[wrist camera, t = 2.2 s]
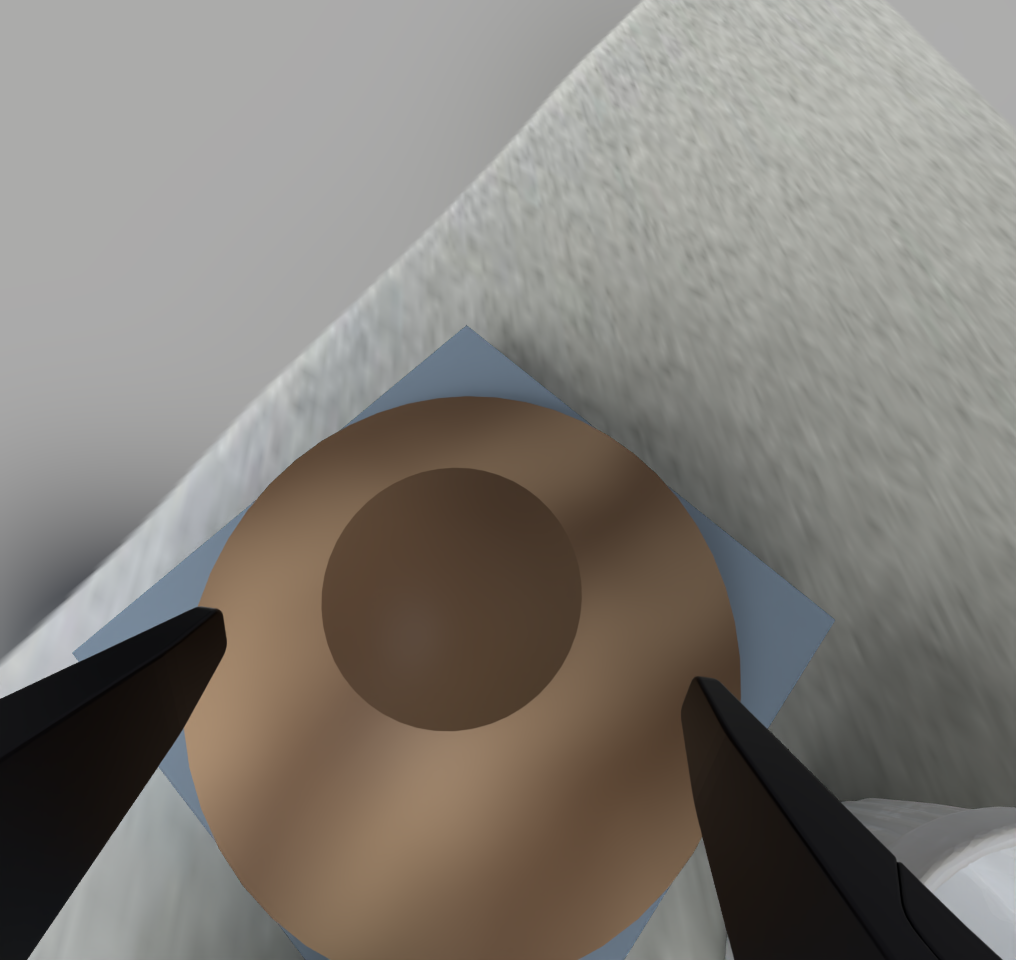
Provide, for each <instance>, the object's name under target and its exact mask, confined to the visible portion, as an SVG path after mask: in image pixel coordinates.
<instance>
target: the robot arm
mask: <svg viewBox="0 0 1016 960" xmlns="http://www.w3.org/2000/svg"><path fill="white" fill-rule="evenodd" d="M226 648H227V637H226V630H225V623H224V616H223V613H222V611H221V610H219V609H217V608H210V607H203V606H198V607H195V608H193V609H190V610H188V611H186V612H184V613H182V614H180V615H178V616H176V617H173V618H171V619H169V620H167V621H165V622H163V623H161V624H159V625H156V626H154V627H152V628H150V629H148V630H146V631H144V632H142V633H139V634H137V635H135V636H133V637H131V638H129V639H127V640H125V641H122V642H120V643H118V644H116V645H114V646H112V647H110V648H108V649H105V650H103V651H101V652H99V653H97V654H95V655H93V656H91V657H88V658H86V659H84V660H82V661H80V662H78V663H76V664H74V665H71V666H69V667H67V668H65V669H63V670H61V671H59V672H57V673H54V674H52V675H50V676H48V677H46V678H44V679H42V680H39V681H37V682H35V683H33V684H31V685H29V686H27V687H25V688H22V689H20V690H18V691H16V692H14V693H12V694H10V695H8V696H5V697H3V698H1V699H0V960H27V959H28V958H29V956H30V955H31V953H32V952H33V950H34V949H35V947H36V946H37V944H38V943H39V941H40V940H41V939H42V937H43V936H44V934H45V933H46V931H47V930H48V928H49V927H50V925H51V924H52V922H53V921H54V919H55V918H56V916H57V915H58V914H59V912H60V911H61V909H62V908H63V906H64V905H65V903H66V902H67V900H68V899H69V897H70V896H71V894H72V893H73V891H74V890H75V888H76V887H77V886H78V884H79V883H80V881H81V880H82V878H83V877H84V875H85V874H86V872H87V871H88V869H89V868H90V866H91V865H92V863H93V862H94V861H95V859H96V858H97V856H98V855H99V853H100V852H101V850H102V849H103V847H104V846H105V844H106V843H107V841H108V840H109V838H110V837H111V836H112V834H113V833H114V831H115V830H116V828H117V827H118V825H119V824H120V822H121V821H122V819H123V818H124V816H125V815H126V813H127V812H128V810H129V809H130V808H131V806H132V805H133V803H134V802H135V800H136V799H137V797H138V796H139V794H140V793H141V791H142V790H143V788H144V787H145V785H146V784H147V783H148V781H149V780H150V778H151V777H152V775H153V774H154V772H155V771H156V769H157V768H158V766H159V765H160V763H161V762H162V760H163V759H164V758H165V756H166V755H167V753H168V752H169V750H170V749H171V747H172V746H173V744H174V743H175V741H176V740H177V738H178V737H179V735H180V733H181V732H182V730H183V728H184V727H185V725H186V723H187V722H188V720H189V718H190V716H191V714H192V713H193V711H194V709H195V707H196V705H197V704H198V702H199V700H200V698H201V696H202V694H203V693H204V691H205V689H206V687H207V685H208V683H209V682H210V680H211V678H212V676H213V674H214V673H215V671H216V669H217V667H218V665H219V663H220V662H221V660H222V658H223V656H224V654H225V651H226ZM681 723H682V729H683V736H684V742H685V749H686V755H687V762H688V768H689V775H690V782H691V788H692V794H693V800H694V805H695V809H696V814H697V818H698V822H699V826H700V830H701V834H702V837H703V841H704V845H705V849H706V853H707V857H708V861H709V865H710V868H711V872H712V876H713V880H714V884H715V888H716V892H717V896H718V899H719V903H720V907H721V911H722V915H723V919H724V923H725V927H726V930H727V934H728V938H729V942H730V946H731V950H732V954H733V958H734V960H1003V959H1002V958H1001V957H999V956H998V955H997V954H996V953H995V952H994V951H993V950H992V949H991V948H990V947H989V946H988V945H986V944H985V943H984V942H983V941H982V940H981V939H980V938H979V937H978V936H977V935H976V934H975V933H973V932H972V931H971V930H970V929H969V928H968V927H967V926H966V925H965V924H964V923H963V922H962V921H961V920H960V919H959V918H958V917H957V916H956V915H955V914H954V913H953V912H952V911H950V910H949V909H948V908H947V907H946V906H945V905H944V904H943V903H942V902H941V901H940V900H939V899H938V898H937V897H936V896H935V895H934V894H933V893H932V892H931V891H930V890H929V889H928V888H927V887H926V886H925V885H924V884H923V883H922V882H921V881H920V880H919V879H918V878H917V877H916V876H915V875H914V874H913V873H912V872H911V871H910V870H909V869H908V868H907V867H906V866H905V865H904V864H903V863H901V862H897V859H896V857H895V856H894V855H893V854H892V853H891V852H890V851H889V850H888V849H887V848H886V847H885V846H884V845H883V844H882V843H881V842H880V841H879V840H878V839H877V838H876V837H875V836H874V835H873V834H872V833H871V832H870V831H869V830H868V829H867V828H866V827H865V826H864V825H863V824H862V823H861V822H860V821H859V820H858V819H857V818H856V817H855V816H854V815H853V814H852V813H851V812H850V811H849V810H848V809H847V808H846V807H845V806H844V805H843V804H842V803H841V802H840V801H839V800H838V799H837V798H836V797H835V796H834V795H833V794H832V793H831V792H830V791H829V790H828V789H827V788H826V787H825V786H824V785H823V784H822V783H821V782H820V781H819V780H818V779H817V778H816V777H815V776H814V775H813V774H812V773H811V772H810V771H809V770H808V769H807V768H806V767H805V766H804V765H803V764H802V763H801V762H800V761H799V760H798V759H797V758H796V757H795V756H794V755H793V754H792V753H791V752H790V751H789V750H788V749H787V748H786V747H785V746H784V745H783V744H782V743H781V742H780V741H779V740H778V739H777V738H776V737H775V736H774V735H773V734H772V733H771V732H770V731H769V730H768V729H767V728H766V727H765V726H764V725H763V724H762V723H761V722H760V721H759V720H758V719H757V718H756V717H755V716H754V715H753V714H752V713H751V712H750V711H749V710H748V709H747V708H746V707H745V706H744V705H743V704H742V703H741V702H740V701H739V700H738V699H737V698H736V697H735V696H734V695H733V694H732V693H731V692H730V691H729V690H728V689H727V688H726V687H725V686H724V685H723V684H722V683H721V682H720V681H719V680H717V679H715V678H709V677H702V676H695V677H694V678H693V679H692V681H691V683H690V686H689V688H688V691H687V694H686V696H685V699H684V701H683V704H682V707H681Z"/></svg>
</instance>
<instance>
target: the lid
mask: <svg viewBox="0 0 1016 960" xmlns="http://www.w3.org/2000/svg"><path fill="white" fill-rule="evenodd" d="M198 606H203V607H210V608H217V609H219V610H221V611H222V613H223V616H224V623H225V630H226V637H227V648H226V651H225V654H224V656H223V658H222V660H221V662H220V663H219V665H218V667H217V669H216V671H215V673H214V674H213V676H212V678H211V680H210V682H209V683H208V685H207V687H206V689H205V691H204V693H203V694H202V696H201V698H200V700H199V702H198V704H197V705H196V707H195V709H194V711H193V713H192V714H191V716H190V718H189V720H188V722H187V723H186V725H185V727H184V733H185V740H186V747H187V754H188V761H189V768H190V771H191V775H192V778H193V782H194V785H195V789H196V792H197V796H198V799H199V803H200V806H201V810H202V812H203V814H204V816H205V818H206V821H207V823H208V825H209V827H210V830H211V832H212V834H213V836H214V839H215V841H216V843H217V845H218V847H219V849H220V851H221V852H222V854H223V855H224V857H225V859H226V860H227V862H228V863H229V865H230V866H231V868H232V869H233V871H234V873H235V874H236V876H237V877H238V879H239V880H240V882H241V884H242V885H243V886H244V887H245V888H246V890H247V891H248V892H249V893H250V894H251V895H252V896H253V897H254V899H255V900H256V901H257V902H258V903H259V904H260V905H261V906H262V908H263V909H264V910H265V911H266V912H267V913H268V914H269V915H270V917H271V918H272V919H274V920H275V921H276V922H277V923H279V924H280V925H281V926H282V927H283V928H285V929H286V930H287V931H288V932H290V933H291V934H292V935H293V936H295V937H296V938H297V939H298V940H299V941H301V942H302V943H303V944H304V945H306V946H307V947H309V948H311V949H312V950H314V951H316V952H318V953H320V954H321V955H323V956H325V957H327V958H328V959H330V960H579V959H580V958H582V957H584V956H586V955H588V954H590V953H591V952H593V951H595V950H597V949H599V948H601V947H602V946H604V945H605V944H606V943H608V942H609V941H610V940H612V939H613V938H614V937H615V936H617V935H618V934H619V933H621V932H622V931H623V930H625V929H626V928H627V927H628V926H630V925H631V924H632V923H634V922H635V921H636V920H638V919H639V918H640V916H641V915H642V914H643V913H644V912H645V911H646V910H647V909H648V908H649V907H650V906H651V905H652V904H653V903H654V902H655V901H656V900H657V899H658V898H659V897H660V896H661V895H662V894H663V893H664V892H665V891H666V890H667V889H668V887H669V886H670V885H671V883H672V882H673V880H674V879H675V878H676V876H677V875H678V874H679V872H680V871H681V869H682V868H683V867H684V865H685V864H686V862H687V861H688V860H689V858H690V857H691V855H692V854H693V853H694V851H695V849H696V847H697V845H698V843H699V841H700V840H701V838H702V834H701V830H700V826H699V822H698V818H697V814H696V809H695V805H694V800H693V794H692V788H691V782H690V775H689V768H688V762H687V755H686V749H685V742H684V736H683V729H682V723H681V707H682V704H683V701H684V699H685V696H686V694H687V691H688V688H689V686H690V683H691V681H692V679H693V678H694V677H695V676H702V677H709V678H715V679H717V680H719V681H720V682H721V683H722V684H723V685H724V686H725V687H726V688H727V689H728V690H729V691H730V692H731V693H732V694H733V695H734V696H735V697H736V698H737V699H738V700H739V701H740V702H741V674H740V654H739V647H738V640H737V633H736V626H735V620H734V617H733V613H732V609H731V605H730V602H729V598H728V594H727V590H726V587H725V584H724V582H723V579H722V577H721V574H720V572H719V569H718V567H717V564H716V562H715V559H714V557H713V554H712V552H711V551H710V549H709V547H708V545H707V543H706V541H705V539H704V538H703V536H702V534H701V532H700V530H699V528H698V526H697V525H696V523H695V522H694V520H693V519H692V518H691V516H690V515H689V513H688V512H687V510H686V509H685V507H684V506H683V505H682V503H681V502H680V500H679V499H678V498H677V496H676V495H675V494H674V493H673V492H672V491H671V490H670V489H669V487H668V486H667V485H666V484H665V483H664V482H663V481H662V480H661V478H660V477H659V476H658V475H657V474H656V473H655V472H654V471H653V470H651V469H650V468H649V467H648V466H647V465H646V464H645V463H644V462H643V461H641V460H640V459H639V458H638V457H637V456H636V455H635V454H634V453H632V452H631V451H629V450H628V449H627V448H625V447H624V446H622V445H621V444H620V443H618V442H617V441H615V440H614V439H612V438H611V437H610V436H608V435H606V434H604V433H603V432H601V431H599V430H597V429H595V428H593V427H592V426H590V425H588V424H586V423H584V422H583V421H580V420H578V419H575V418H573V417H570V416H568V415H565V414H563V413H561V412H558V411H556V410H553V409H549V408H545V407H542V406H538V405H535V404H531V403H527V402H522V401H516V400H510V399H503V398H497V397H475V396H462V397H448V398H436V399H430V400H425V401H420V402H414V403H409V404H405V405H402V406H399V407H395V408H392V409H389V410H385V411H382V412H379V413H376V414H374V415H372V416H369V417H367V418H365V419H363V420H360V421H358V422H356V423H353V424H351V425H349V426H347V427H345V428H344V429H342V430H340V431H338V432H337V433H335V434H333V435H331V436H330V437H328V438H326V439H324V440H323V441H321V442H320V443H318V444H317V445H316V446H314V447H313V448H312V449H310V450H309V451H308V452H306V453H305V454H303V455H302V456H301V457H299V458H298V459H297V460H295V461H294V462H293V463H292V464H291V465H290V466H289V467H288V468H287V469H286V470H285V471H283V472H282V473H281V474H280V475H279V476H278V477H277V478H276V479H275V480H274V481H273V482H272V483H270V485H269V486H268V487H267V488H266V489H265V490H264V492H263V493H262V494H261V495H260V496H259V497H258V499H257V500H256V501H255V502H254V503H253V504H252V506H251V507H250V508H249V509H248V510H247V512H246V513H245V515H244V516H243V518H242V519H241V521H240V522H239V524H238V525H237V527H236V528H235V529H234V531H233V532H232V534H231V535H230V537H229V538H228V540H227V542H226V544H225V546H224V548H223V550H222V551H221V553H220V555H219V557H218V559H217V561H216V563H215V565H214V567H213V569H212V571H211V573H210V575H209V578H208V581H207V583H206V586H205V589H204V591H203V594H202V596H201V599H200V602H199V604H198Z"/></svg>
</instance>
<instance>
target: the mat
mask: <svg viewBox="0 0 1016 960" xmlns="http://www.w3.org/2000/svg"><path fill="white" fill-rule="evenodd" d="M462 396H475V397H497V398H503V399H510V400H516V401H522V402H527V403H531V404H535V405H538V406H542V407H545V408H549V409H553V410H556V411H558V412H561V413H563V414H565V415H568V416H570V417H573V418H575V419H578V420H580V421H583V422H584V423H586V424H588V425H590V426H592V425H591V424H590V423H588V422H587V421H586V420H585V419H583V418H582V417H581V416H580V415H578V414H577V413H576V412H575V411H573V410H572V409H571V408H570V407H568V406H567V405H566V404H565V403H563V402H562V401H561V400H560V399H558V398H557V397H556V396H555V395H553V394H552V393H551V392H550V391H548V390H547V389H546V388H545V387H543V386H542V385H541V384H540V383H538V382H537V381H536V380H535V379H533V378H532V377H531V376H529V375H528V374H527V373H526V372H524V371H523V370H522V369H521V368H519V367H518V366H517V365H516V364H514V363H513V362H512V361H511V360H509V359H508V358H507V357H506V356H504V355H503V354H502V353H501V352H499V351H498V350H497V349H496V348H494V347H493V346H492V345H491V344H489V343H488V342H487V341H486V340H484V339H483V338H482V337H481V336H479V335H478V334H477V333H476V332H474V331H473V330H472V329H471V328H469V327H468V326H467V325H466V326H465V327H464V328H463V329H461V330H460V331H459V332H458V333H457V334H455V335H454V336H453V337H452V338H451V339H449V340H448V341H447V342H446V343H445V344H443V345H442V346H441V347H440V348H439V349H437V350H436V351H435V352H434V353H433V354H431V355H430V356H429V357H428V358H427V359H425V360H424V361H423V362H422V363H421V364H419V365H418V366H417V367H416V368H415V369H413V370H412V371H411V372H410V373H409V374H407V375H406V376H405V377H404V378H402V379H401V380H400V381H399V382H398V383H396V384H395V385H394V386H393V387H392V388H390V389H389V390H388V391H387V392H386V393H384V394H383V395H382V396H381V397H380V398H378V399H377V400H376V401H375V402H374V403H372V404H371V405H370V406H369V407H368V408H366V409H365V410H364V411H363V412H362V413H360V414H359V415H358V416H357V417H356V418H354V419H353V420H352V421H351V422H350V423H348V424H347V425H346V426H345V427H347V426H349V425H351V424H353V423H356V422H358V421H360V420H363V419H365V418H367V417H369V416H372V415H374V414H376V413H379V412H382V411H385V410H389V409H392V408H395V407H399V406H402V405H405V404H409V403H414V402H420V401H425V400H430V399H436V398H448V397H462ZM345 427H343V428H342V429H344V428H345ZM592 427H593V426H592ZM593 428H595V427H593ZM342 429H341V430H342ZM595 429H596V428H595ZM669 489H670V490H671V491H672V492H673V493H674V494H675V495H676V496H677V498H678V499H679V500H680V502H681V503H682V505H683V506H684V507H685V509H686V510H687V512H688V513H689V515H690V516H691V518H692V519H693V520H694V522H695V523H696V525H697V526H698V528H699V530H700V532H701V534H702V536H703V538H704V539H705V541H706V543H707V545H708V547H709V549H710V551H711V552H712V554H713V557H714V559H715V562H716V564H717V567H718V569H719V572H720V574H721V577H722V579H723V582H724V584H725V587H726V590H727V594H728V598H729V602H730V605H731V609H732V613H733V617H734V620H735V626H736V633H737V640H738V647H739V654H740V674H741V703H742V704H743V705H744V706H745V707H746V708H747V709H748V710H749V711H750V712H751V713H752V714H753V715H754V716H755V717H756V718H757V719H758V720H759V721H760V722H761V723H762V724H763V725H764V726H765V727H766V728H767V729H768V727H769V726H770V724H771V723H772V721H773V719H774V718H775V716H776V715H777V713H778V711H779V710H780V708H781V707H782V705H783V703H784V702H785V700H786V699H787V697H788V695H789V694H790V692H791V690H792V689H793V687H794V686H795V684H796V682H797V681H798V679H799V678H800V676H801V674H802V673H803V671H804V670H805V668H806V666H807V665H808V663H809V661H810V660H811V658H812V657H813V655H814V653H815V652H816V650H817V649H818V647H819V645H820V644H821V642H822V641H823V639H824V637H825V636H826V634H827V633H828V631H829V629H830V628H831V626H832V624H833V623H834V621H835V619H834V618H832V617H831V616H830V615H829V614H827V613H826V612H825V611H824V610H822V609H821V608H820V607H819V606H817V605H816V604H815V603H814V602H812V601H811V600H810V599H809V598H807V597H806V596H805V595H804V594H802V593H801V592H800V591H799V590H797V589H796V588H795V587H794V586H792V585H791V584H790V583H789V582H787V581H786V580H785V579H784V578H782V577H781V576H780V575H779V574H777V573H776V572H775V571H774V570H772V569H771V568H770V567H769V566H767V565H766V564H765V563H764V562H762V561H761V560H760V559H759V558H757V557H756V556H755V555H754V554H752V553H751V552H750V551H749V550H747V549H746V548H745V547H744V546H742V545H741V544H740V543H739V542H737V541H736V540H735V539H734V538H732V537H731V536H730V535H729V534H727V533H726V532H725V531H724V530H722V529H721V528H720V527H719V526H717V525H716V524H715V523H713V522H712V521H711V520H710V519H708V518H707V517H706V516H705V515H703V514H702V513H701V512H700V511H698V510H697V509H696V508H695V507H693V506H692V505H691V504H690V503H688V502H687V501H686V500H685V499H683V498H682V497H681V496H680V495H678V494H677V493H676V492H675V491H673V490H672V489H671V488H670V487H669ZM254 502H255V501H254ZM254 502H253V503H254ZM253 503H252V504H253ZM252 504H251V505H250V506H248V507H247V508H246V509H245V510H244V511H242V512H241V513H240V514H239V515H238V516H236V517H235V518H234V519H233V520H232V521H230V522H229V523H228V524H227V525H226V526H224V527H223V528H222V529H221V530H220V531H218V532H217V533H216V534H215V535H213V536H212V537H211V538H210V539H209V540H207V541H206V542H205V543H204V544H203V545H201V546H200V547H199V548H198V549H197V550H195V551H194V552H193V553H192V554H191V555H189V556H188V557H187V558H186V559H185V560H183V561H182V562H181V563H180V564H179V565H177V566H176V567H175V568H174V569H173V570H171V571H170V572H169V573H168V574H167V575H165V576H164V577H163V578H162V579H161V580H159V581H158V582H157V583H156V584H154V585H153V586H152V587H151V588H150V589H148V590H147V591H146V592H145V593H144V594H142V595H141V596H140V597H139V598H138V599H136V600H135V601H134V602H133V603H132V604H130V605H129V606H128V607H127V608H126V609H124V610H123V611H122V612H121V613H120V614H118V615H117V616H116V617H115V618H114V619H112V620H111V621H110V622H109V623H108V624H106V625H105V626H104V627H103V628H102V629H100V630H99V631H98V632H97V633H96V634H94V635H93V636H92V637H91V638H89V639H88V640H87V641H86V642H85V643H83V644H82V645H81V646H80V647H79V648H77V649H76V650H75V651H74V652H73V653H72V654H73V655H74V656H75V657H76V659H77V660H78V661H79V662H80V661H82V660H84V659H86V658H88V657H91V656H93V655H95V654H97V653H99V652H101V651H103V650H105V649H108V648H110V647H112V646H114V645H116V644H118V643H120V642H122V641H125V640H127V639H129V638H131V637H133V636H135V635H137V634H139V633H142V632H144V631H146V630H148V629H150V628H152V627H154V626H156V625H159V624H161V623H163V622H165V621H167V620H169V619H171V618H173V617H176V616H178V615H180V614H182V613H184V612H186V611H188V610H190V609H193V608H195V607H198V604H199V602H200V599H201V596H202V594H203V591H204V589H205V586H206V583H207V581H208V578H209V575H210V573H211V571H212V569H213V567H214V565H215V563H216V561H217V559H218V557H219V555H220V553H221V551H222V550H223V548H224V546H225V544H226V542H227V540H228V538H229V537H230V535H231V534H232V532H233V531H234V529H235V528H236V527H237V525H238V524H239V522H240V521H241V519H242V518H243V516H244V515H245V513H246V512H247V510H248V509H249V508H250V507H251V506H252ZM158 767H159V768H160V769H161V771H162V772H163V773H164V775H165V776H166V777H167V778H168V780H169V781H170V782H171V784H172V785H173V786H174V788H175V789H176V790H177V792H178V793H179V794H180V796H181V797H182V798H183V800H184V801H185V802H186V803H187V805H188V806H189V807H190V809H191V810H192V811H193V813H194V814H195V815H196V817H197V818H198V819H199V821H200V822H201V823H202V825H203V826H204V827H205V828H206V830H207V831H208V832H209V834H210V835H211V836H212V838H213V839H214V836H213V834H212V832H211V830H210V827H209V825H208V823H207V821H206V818H205V816H204V814H203V812H202V810H201V806H200V803H199V799H198V796H197V792H196V789H195V785H194V782H193V778H192V775H191V771H190V768H189V761H188V754H187V747H186V740H185V733H184V728H183V730H182V732H181V733H180V735H179V737H178V738H177V740H176V741H175V743H174V744H173V746H172V747H171V749H170V750H169V752H168V753H167V755H166V756H165V758H164V759H163V760H162V762H161V763H160V765H159V766H158ZM214 840H215V839H214ZM215 842H216V841H215ZM671 884H672V883H671ZM669 887H670V886H669ZM669 887H668V888H669ZM667 890H668V889H667ZM667 890H666V891H665V892H664V893H663V894H662V895H661V896H660V897H659V898H658V899H657V900H656V901H655V902H654V903H653V904H652V905H651V906H650V907H649V908H648V909H647V910H646V911H645V912H644V913H643V914H642V915H641V916H640V918H639V919H638V920H636V921H635V922H634V923H632V924H631V925H630V926H628V927H627V928H626V929H625V930H623V931H622V932H621V933H619V934H618V935H617V936H615V937H614V938H613V939H612V940H610V941H609V942H608V943H606V944H605V945H604V946H602V947H601V948H599V949H597V950H595V951H593V952H591V953H590V954H588V955H586V956H584V957H582V958H580V959H579V960H624V959H625V958H626V956H627V954H628V953H629V951H630V950H631V948H632V946H633V945H634V943H635V941H636V940H637V938H638V937H639V935H640V933H641V932H642V930H643V929H644V927H645V925H646V924H647V922H648V921H649V919H650V917H651V916H652V914H653V913H654V911H655V909H656V908H657V906H658V904H659V903H660V901H661V900H662V898H663V896H664V895H665V893H666V892H667ZM278 925H279V926H280V927H281V928H282V930H283V931H284V932H285V934H286V935H287V936H288V938H289V939H290V940H291V942H292V943H293V944H294V946H295V947H296V948H297V950H298V951H299V952H300V953H301V955H302V956H303V957H304V959H305V960H330V959H328V958H327V957H325V956H323V955H321V954H320V953H318V952H316V951H314V950H312V949H311V948H309V947H307V946H306V945H304V944H303V943H302V942H301V941H299V940H298V939H297V938H296V937H295V936H293V935H292V934H291V933H290V932H288V931H287V930H286V929H285V928H283V927H282V926H281V925H280V924H279V923H278Z"/></svg>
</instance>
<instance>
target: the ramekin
mask: <svg viewBox="0 0 1016 960" xmlns="http://www.w3.org/2000/svg"><path fill="white" fill-rule="evenodd" d="M841 803H842V804H843V805H844V806H845V807H846V808H847V809H848V810H849V811H850V812H851V813H852V814H853V815H854V816H855V817H856V818H857V819H858V820H859V821H860V822H861V823H862V824H863V825H864V826H865V827H866V828H867V829H868V830H869V831H870V832H871V833H872V834H873V835H874V836H875V837H876V838H877V839H878V840H879V841H880V842H881V843H882V844H883V845H884V846H885V847H886V848H887V849H888V850H889V851H890V852H891V853H892V854H893V855H894V856H895V857H896V859H897V862H901V863H903V864H904V865H905V866H906V867H907V868H908V869H909V870H910V871H911V872H912V873H913V874H914V875H915V876H916V877H917V878H918V879H919V880H920V881H921V882H922V883H923V884H924V885H925V886H926V887H927V888H928V889H929V890H930V891H931V892H932V893H933V894H934V895H935V896H936V897H937V898H938V899H939V900H940V901H941V902H942V903H943V904H944V905H945V906H946V907H947V908H948V909H949V910H950V911H952V912H953V913H954V914H955V915H956V916H957V917H958V918H959V919H960V920H961V921H962V922H963V923H964V924H965V925H966V926H967V927H968V928H969V929H970V930H971V931H972V932H973V933H975V934H976V935H977V936H978V937H979V938H980V939H981V940H982V941H983V942H984V943H985V944H986V945H988V946H989V947H990V948H991V949H992V950H993V951H994V952H995V953H996V954H997V955H998V956H999V957H1001V958H1002V959H1003V960H1016V807H987V808H978V809H967V808H960V807H954V806H948V805H941V804H934V803H924V802H913V801H903V800H890V799H879V798H866V799H861V800H859V801H844V802H841ZM725 960H734V958H733V954H732V950H731V946H730V942H729V938H728V936H727V940H726V956H725Z"/></svg>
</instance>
